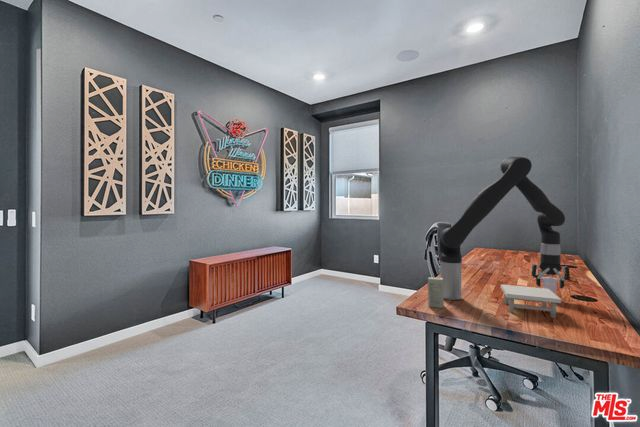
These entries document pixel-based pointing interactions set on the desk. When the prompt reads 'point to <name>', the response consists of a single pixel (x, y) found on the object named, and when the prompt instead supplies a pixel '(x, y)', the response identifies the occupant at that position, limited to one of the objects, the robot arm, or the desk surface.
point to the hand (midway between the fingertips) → (549, 287)
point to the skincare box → (435, 292)
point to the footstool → (530, 298)
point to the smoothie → (549, 283)
